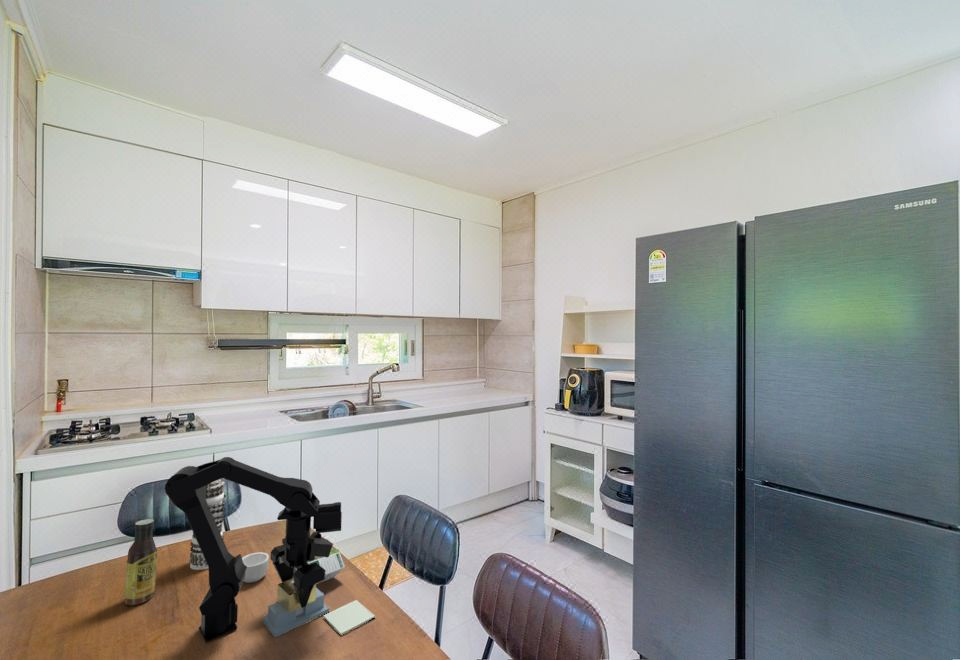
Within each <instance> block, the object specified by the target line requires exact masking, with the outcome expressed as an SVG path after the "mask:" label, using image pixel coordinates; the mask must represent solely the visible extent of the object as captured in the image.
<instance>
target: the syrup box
mask: <svg viewBox="0 0 960 660" xmlns="http://www.w3.org/2000/svg"><path fill="white" fill-rule="evenodd" d="M315 562H316V563H317V564H319V565H320V566H321V567H322V568H324V569H325V579H324V580H322V581H320V582H318V583H316V585H318V584H321V583H323V582H326V581H328V580H331V579H333V578H335V577H336V576H337V575H339V574H340V573H341V572H342V571H343V570H344V569H346V566H345V563H344V561H343V558H342V555H341V552H340V549H339V548H337V549H334V550H331V552H330V555H329V557H322V556H315V559H314V560H311V561H307V563H308V564H309V565H310V564H312V563H315ZM296 570H297V568H296V567H294V572H293V578H294V573H295V572H296ZM330 578H331V579H330Z"/></svg>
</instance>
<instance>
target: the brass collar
mask: <svg viewBox="0 0 960 660" xmlns="http://www.w3.org/2000/svg"><path fill="white" fill-rule="evenodd" d="M291 581H294V578H292V579H290V580H287V581H285V582H282V581H281V582H280V583H278V584H277V595H276V599H277V600H276V601H277V602H279V603H280V604H281V605H282V606H283V607H284V608H285V609H286V610H287V611H288V612H291V611H294V610H296V609H298V608H300V607H301V605H300V603H299V600H298V597H297V594H296V591H295V589H294V590H292V589H291V588H290V582H291ZM316 588H317V584H315V585H314V587H313V589H312V591H311V594H310V597H309V600H308V602H307V604H309V603H311V602H313V601H315V600H316Z"/></svg>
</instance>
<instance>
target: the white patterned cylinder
mask: <svg viewBox="0 0 960 660" xmlns="http://www.w3.org/2000/svg"><path fill="white" fill-rule="evenodd" d="M225 483H226V482H225V481H223V480H222V478H221V479H219V480H216V481H214V482H212V483H210V484H208V485H206V502H207V504H208V506H209V508H210V511H211V513H212V515H213V518H214V520H215V522H216V525H217V527H218V529H219V531H220V534H221V536H222V538H223V540H224V535H223V523H224V521H225V518H224V517H225V516H226V514H225V512H224V511H225V510H226V506H225V505H226V504H227V503H226V502H227V501H225V500H223V499H225V498H226V497H227V494H224V485H225ZM189 551H190V553H189V558H190V559H189V563H190V564H189V567H190V569H191V570H194V571H195V570H196V571H201V570H209V568H208V565H207V563H206V560H205V558H204V556H203V554H202V551H201V549H200V547H199V544H198V542H197V540H196V538H195V535H194V533H193V532H192V535H191V542H190V550H189Z"/></svg>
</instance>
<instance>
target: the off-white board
mask: <svg viewBox="0 0 960 660" xmlns="http://www.w3.org/2000/svg"><path fill="white" fill-rule="evenodd" d="M322 616H323V617H324V618H325V619H326V620H327V621H328V622H329V623H328V622H327V621H326V620H325V619H324V618H323V617H322V618H323V619H324V620H325V621H326V622H327V623H328V624H329V626H331V625H332V626H333V627H334V628H333V627H332V626H331V627H332V628H333V630H335V632H336V633H337V632H338V633H339V634H340V635H342V634H344V633H346V632H348V631H350V630H352V629H354V628H355V627H357V626H359V627H361V626H362V625H361V624H363V625H365V624H367V623H368V622H367V621H369V620H371V619H372V618H375V619H376V615H375V614H374V613H372V612H371V611H370V610H369V609H368V608H366V606H365V605H363V604H362V603H360V602H359V600H357V599H355V600H353V601H351V602H349V603H347V604H345V605H342V606H341V607H338V608H337V609H334V610H332V611H329V613H327V614H325V615H322ZM371 621H372V620H371ZM366 622H367V623H366ZM369 622H370V621H369ZM364 623H365V624H364ZM360 625H361V626H360ZM354 630H355V629H354ZM352 631H353V630H352ZM350 632H351V631H350ZM348 633H349V632H348ZM339 634H338V635H339ZM346 634H347V633H346ZM340 635H339V636H340ZM344 635H345V634H344ZM342 636H343V635H342Z"/></svg>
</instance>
